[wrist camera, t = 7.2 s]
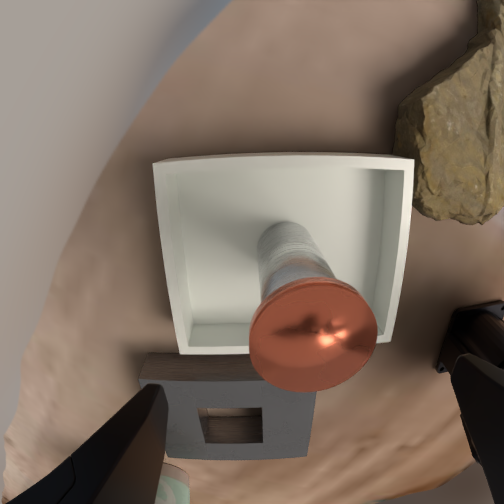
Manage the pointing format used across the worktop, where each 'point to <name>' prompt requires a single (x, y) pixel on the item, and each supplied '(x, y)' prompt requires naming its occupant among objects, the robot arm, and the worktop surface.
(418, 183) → the stone slab
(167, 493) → the coffee cup
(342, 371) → the grey copper-tipped cylinder
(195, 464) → the worktop surface
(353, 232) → the parts tray
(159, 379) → the block
